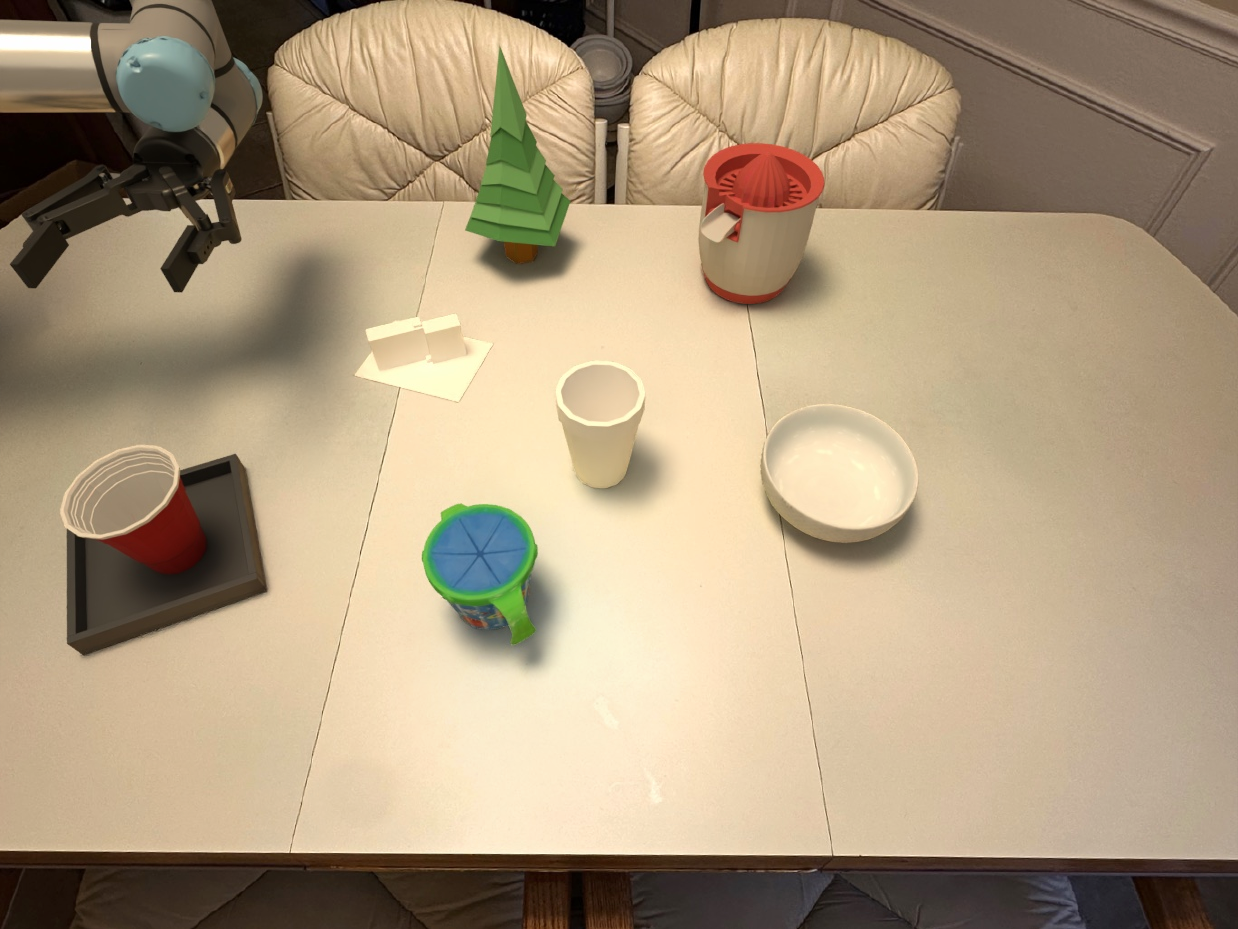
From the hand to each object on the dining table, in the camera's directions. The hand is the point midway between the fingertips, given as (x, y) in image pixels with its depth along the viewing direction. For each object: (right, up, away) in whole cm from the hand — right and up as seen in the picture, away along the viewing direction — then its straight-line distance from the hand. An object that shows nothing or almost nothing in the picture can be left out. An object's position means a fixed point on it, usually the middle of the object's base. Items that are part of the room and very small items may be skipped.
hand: (96, 278), depth 68 cm
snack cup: (+34, -31, +10) cm, 48 cm away
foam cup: (+46, -17, +21) cm, 53 cm away
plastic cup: (0, -26, +12) cm, 29 cm away
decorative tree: (+33, +15, +45) cm, 57 cm away
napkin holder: (+22, -3, +31) cm, 38 cm away
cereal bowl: (+72, -21, +18) cm, 77 cm away
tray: (-1, -27, +12) cm, 29 cm away
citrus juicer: (+66, +10, +41) cm, 78 cm away
